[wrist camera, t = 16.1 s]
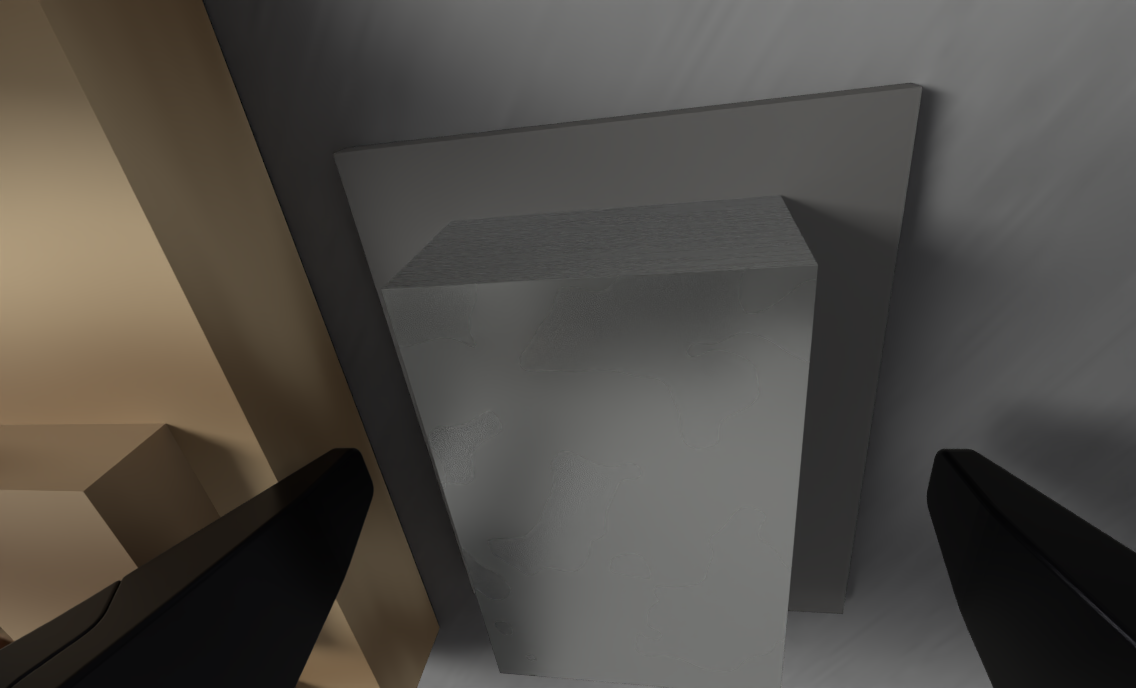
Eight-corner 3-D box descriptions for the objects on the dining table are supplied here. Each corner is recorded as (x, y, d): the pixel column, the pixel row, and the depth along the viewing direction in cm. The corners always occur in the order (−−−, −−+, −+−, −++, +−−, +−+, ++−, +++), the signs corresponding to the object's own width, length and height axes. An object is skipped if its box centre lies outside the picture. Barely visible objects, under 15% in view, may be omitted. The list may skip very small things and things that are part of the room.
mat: (838, 596, 12) (843, 614, 12) (478, 578, 14) (473, 593, 14) (911, 82, 7) (922, 86, 7) (345, 147, 9) (332, 153, 9)
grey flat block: (761, 570, 12) (780, 697, 10) (530, 559, 13) (500, 672, 10) (780, 195, 8) (817, 264, 6) (451, 220, 9) (381, 289, 7)
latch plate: (439, 627, 15) (359, 839, 11) (210, 611, 17) (70, 795, 13) (99, -271, 7) (-615, -610, 3) (-298, -150, 8) (-1125, -277, 5)
